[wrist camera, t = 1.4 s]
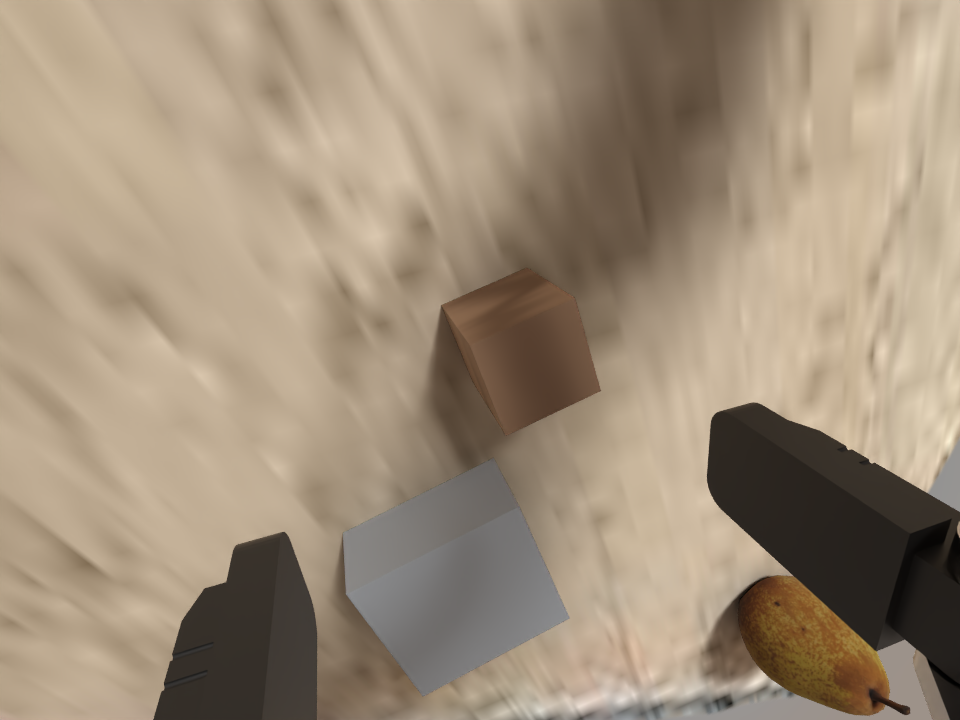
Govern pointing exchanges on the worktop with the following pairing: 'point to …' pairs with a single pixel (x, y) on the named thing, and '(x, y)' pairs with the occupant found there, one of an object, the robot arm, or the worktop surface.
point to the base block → (451, 578)
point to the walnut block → (523, 348)
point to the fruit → (811, 648)
